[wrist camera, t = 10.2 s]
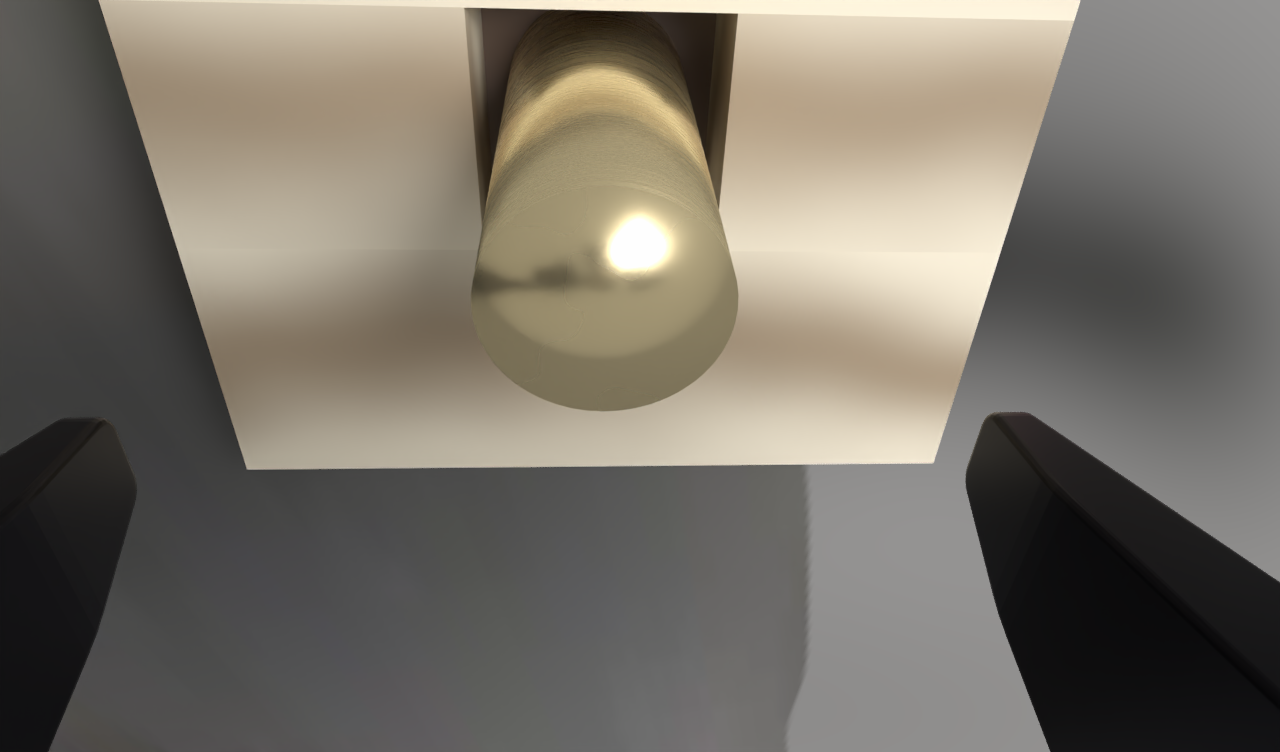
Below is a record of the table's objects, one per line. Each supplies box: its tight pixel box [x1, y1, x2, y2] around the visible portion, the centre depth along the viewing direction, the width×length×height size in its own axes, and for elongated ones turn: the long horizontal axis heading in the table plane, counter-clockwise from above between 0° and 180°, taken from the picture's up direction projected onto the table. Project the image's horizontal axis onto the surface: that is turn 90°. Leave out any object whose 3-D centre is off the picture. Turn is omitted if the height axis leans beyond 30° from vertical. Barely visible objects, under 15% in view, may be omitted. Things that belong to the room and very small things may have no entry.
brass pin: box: [471, 9, 739, 411], centre depth 15 cm, size 4×4×8 cm
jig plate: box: [99, 0, 1081, 470], centre depth 18 cm, size 16×16×4 cm
